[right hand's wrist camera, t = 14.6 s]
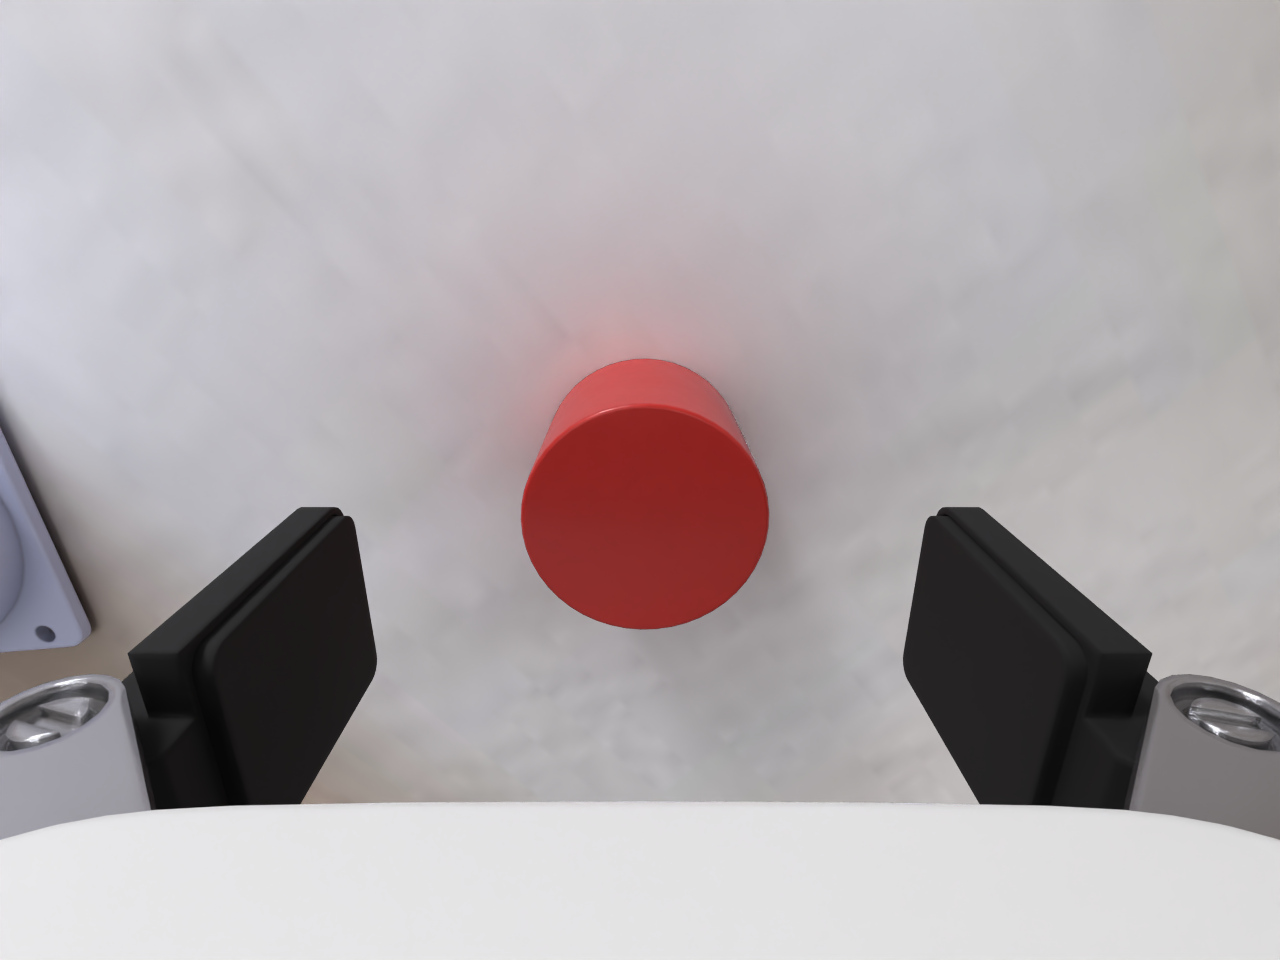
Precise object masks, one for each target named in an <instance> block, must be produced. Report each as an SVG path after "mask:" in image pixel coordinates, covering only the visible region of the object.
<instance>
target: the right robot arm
mask: <svg viewBox="0 0 1280 960" xmlns="http://www.w3.org/2000/svg"><path fill="white" fill-rule="evenodd" d="M128 656H129V659H130V662H131V665H132V668H133V672H132V673H131V674H130V675H129V676H128V677H127V678H125V679H124V680H123V681H122V682H121V681H120V680H119V679H117V678H114V677H111V676H109V675H96V674H88V675H80V676H72V677H67V678H63V679H59V680H55V681H51V682H48V683H44V684H42V685H39V686H36V687H34V688H31V689H29V690H26V691H23V692H21V693H19V694H17V695H15V696H13V697H11V698H9V699H7V700H5V701H3V702H1V703H0V960H1280V703H1279V702H1277V701H1275V700H1273V699H1271V698H1269V697H1267V696H1265V695H1263V694H1261V693H1259V692H1257V691H1254V690H1251V689H1249V688H1246V687H1244V686H1241V685H1238V684H1236V683H1232V682H1229V681H1225V680H1221V679H1217V678H1213V677H1208V676H1200V675H1192V674H1184V675H1171V676H1169V677H1166V678H1163V679H1161V680H1160V681H1159V682H1158V681H1157V680H1156V679H1155V678H1153V677H1152V676H1151V675H1150V674H1149V673H1148V672H1147V668H1148V665H1149V662H1150V659H1151V656H1152V653H1151V652H1150V651H1149V650H1148V649H1147V648H1145V647H1144V646H1143V645H1142V644H1141V643H1139V642H1138V641H1137V640H1136V639H1135V638H1134V637H1132V636H1131V635H1130V634H1129V633H1128V632H1127V631H1125V630H1124V629H1123V628H1122V627H1121V626H1119V625H1118V624H1117V623H1116V622H1115V621H1114V620H1112V619H1111V618H1110V617H1109V616H1108V615H1107V614H1105V613H1104V612H1103V611H1102V610H1101V609H1099V608H1098V607H1097V606H1096V605H1095V604H1094V603H1092V602H1091V601H1090V600H1089V599H1088V598H1087V597H1085V596H1084V595H1083V594H1082V593H1081V592H1079V591H1078V590H1077V589H1076V588H1075V587H1074V586H1072V585H1071V584H1070V583H1069V582H1068V581H1067V580H1065V579H1064V578H1063V577H1062V576H1061V575H1059V574H1058V573H1057V572H1056V571H1055V570H1054V569H1052V568H1051V567H1050V566H1049V565H1048V564H1047V563H1045V562H1044V561H1043V560H1042V559H1041V558H1040V557H1038V556H1037V555H1036V554H1035V553H1034V552H1032V551H1031V550H1030V549H1029V548H1028V547H1027V546H1025V545H1024V544H1023V543H1022V542H1021V541H1020V540H1018V539H1017V538H1016V537H1015V536H1014V535H1012V534H1011V533H1010V532H1009V531H1008V530H1007V529H1005V528H1004V527H1003V526H1002V525H1001V524H1000V523H998V522H997V521H996V520H995V519H994V518H992V517H991V516H990V515H989V514H988V513H987V512H985V511H984V510H983V509H981V508H979V507H944V508H941V509H940V510H939V512H938V513H937V515H936V516H930V517H929V518H928V519H927V521H926V524H925V529H924V535H923V541H922V547H921V553H920V559H919V565H918V570H917V576H916V582H915V588H914V594H913V600H912V606H911V612H910V618H909V624H908V630H907V636H906V642H905V648H904V654H903V666H904V671H905V675H906V677H907V679H908V681H909V683H910V685H911V686H912V688H913V690H914V692H915V693H916V695H917V697H918V698H919V700H920V702H921V704H922V705H923V707H924V709H925V711H926V712H927V714H928V716H929V717H930V719H931V721H932V723H933V724H934V726H935V728H936V730H937V731H938V733H939V735H940V736H941V738H942V740H943V742H944V743H945V745H946V747H947V749H948V750H949V752H950V754H951V755H952V757H953V759H954V761H955V762H956V764H957V766H958V768H959V769H960V771H961V773H962V774H963V776H964V778H965V780H966V781H967V783H968V785H969V786H970V788H971V790H972V792H973V793H974V795H975V797H976V799H977V800H978V802H979V804H929V803H875V802H669V801H612V802H405V803H351V804H301V802H302V800H303V799H304V797H305V795H306V793H307V792H308V790H309V788H310V786H311V785H312V783H313V781H314V780H315V778H316V776H317V774H318V773H319V771H320V769H321V768H322V766H323V764H324V762H325V761H326V759H327V757H328V755H329V754H330V752H331V750H332V749H333V747H334V745H335V743H336V742H337V740H338V738H339V736H340V735H341V733H342V731H343V730H344V728H345V726H346V724H347V723H348V721H349V719H350V717H351V716H352V714H353V712H354V711H355V709H356V707H357V705H358V704H359V702H360V700H361V698H362V697H363V695H364V693H365V692H366V690H367V688H368V686H369V685H370V683H371V681H372V679H373V677H374V675H375V671H376V666H377V654H376V648H375V642H374V636H373V630H372V624H371V618H370V612H369V606H368V600H367V594H366V588H365V582H364V576H363V570H362V565H361V559H360V553H359V547H358V541H357V535H356V529H355V524H354V521H353V519H352V518H351V517H350V516H344V515H343V513H342V512H341V510H340V509H339V508H336V507H301V508H299V509H297V510H296V511H295V512H293V513H292V514H291V515H290V516H289V517H288V518H286V519H285V520H284V521H283V522H282V523H280V524H279V525H278V526H277V527H276V528H275V529H273V530H272V531H271V532H270V533H269V534H268V535H266V536H265V537H264V538H263V539H262V540H260V541H259V542H258V543H257V544H256V545H255V546H253V547H252V548H251V549H250V550H249V551H248V552H246V553H245V554H244V555H243V556H242V557H240V558H239V559H238V560H237V561H236V562H235V563H233V564H232V565H231V566H230V567H229V568H228V569H226V570H225V571H224V572H223V573H222V574H221V575H219V576H218V577H217V578H216V579H215V580H213V581H212V582H211V583H210V584H209V585H208V586H206V587H205V588H204V589H203V590H202V591H201V592H199V593H198V594H197V595H196V596H195V597H193V598H192V599H191V600H190V601H189V602H188V603H186V604H185V605H184V606H183V607H182V608H181V609H179V610H178V611H177V612H176V613H175V614H173V615H172V616H171V617H170V618H169V619H168V620H166V621H165V622H164V623H163V624H162V625H161V626H159V627H158V628H157V629H156V630H155V631H153V632H152V633H151V634H150V635H149V636H148V637H146V638H145V639H144V640H143V641H142V642H141V643H139V644H138V645H137V646H136V647H135V648H133V649H132V650H131V651H130V652H129V653H128Z"/></svg>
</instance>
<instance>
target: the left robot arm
mask: <svg viewBox="0 0 1280 960" xmlns="http://www.w3.org/2000/svg"><path fill="white" fill-rule="evenodd" d="M49 628H50V629H52V630H53V631H51V630H50V629H49ZM90 633H91V626H90V623H89V621H88V618H87V616H86V614H85V612H84V610H83V607H82V605H81V603H80V601H79V599H78V596H77V594H76V592H75V590H74V588H73V585H72V583H71V581H70V579H69V577H68V575H67V572H66V570H65V568H64V566H63V564H62V561H61V559H60V557H59V555H58V553H57V550H56V548H55V546H54V544H53V542H52V540H51V537H50V535H49V533H48V531H47V529H46V526H45V524H44V522H43V520H42V518H41V515H40V513H39V511H38V509H37V507H36V504H35V502H34V500H33V498H32V496H31V494H30V491H29V489H28V487H27V485H26V483H25V480H24V478H23V476H22V474H21V472H20V469H19V467H18V465H17V463H16V461H15V459H14V456H13V454H12V452H11V450H10V448H9V445H8V443H7V441H6V439H5V437H4V434H3V432H2V430H1V428H0V653H1V652H13V651H26V650H38V649H50V648H63V647H73V646H76V645H78V644H80V643H81V642H82V641H84V640H85V639H86V638H87V637H88V636H89V635H90Z"/></svg>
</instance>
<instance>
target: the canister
mask: <svg viewBox="0 0 1280 960" xmlns="http://www.w3.org/2000/svg"><path fill="white" fill-rule="evenodd" d="M521 525H522V534H523V538H524V542H525V546H526V550H527V552H528V555H529V557H530V559H531V562H532V564H533V565H534V567H535V569H536V571H537V572H538V574H539V576H540V577H541V578H542V580H543V581H544V582H545V583H546V585H547V586H548V587H549V588H550V589H551V590H552V591H553V592H554V593H555V594H556V595H557V596H558V597H559V598H560V599H561V600H562V601H564V602H565V603H566V604H567V605H569V606H570V607H572V608H573V609H575V610H577V611H578V612H580V613H582V614H583V615H585V616H588V617H590V618H592V619H594V620H596V621H599V622H603V623H606V624H609V625H613V626H618V627H623V628H630V629H660V628H667V627H673V626H676V625H680V624H684V623H687V622H690V621H692V620H695V619H698V618H700V617H702V616H704V615H706V614H708V613H710V612H712V611H713V610H715V609H716V608H718V607H719V606H721V605H722V604H724V603H725V602H726V601H727V600H728V599H730V598H731V597H732V596H733V595H734V594H735V593H736V592H737V591H738V590H739V589H740V588H741V587H742V586H743V584H744V583H745V582H746V581H747V579H748V578H749V576H750V575H751V573H752V572H753V570H754V569H755V567H756V565H757V563H758V561H759V559H760V557H761V555H762V552H763V549H764V546H765V543H766V538H767V533H768V527H769V506H768V497H767V493H766V489H765V485H764V482H763V479H762V477H761V475H760V472H759V470H758V468H757V465H756V463H755V461H754V459H753V457H752V455H751V453H750V450H749V448H748V446H747V444H746V442H745V440H744V438H743V435H742V433H741V431H740V429H739V427H738V425H737V423H736V420H735V418H734V416H733V414H732V412H731V410H730V408H729V407H728V405H727V403H726V401H725V400H724V399H723V397H722V396H721V395H720V394H719V392H718V391H717V390H716V389H715V388H714V387H713V386H712V385H711V384H710V383H709V382H708V381H706V380H705V379H703V378H702V377H701V376H699V375H698V374H696V373H694V372H693V371H691V370H689V369H687V368H685V367H682V366H680V365H677V364H674V363H670V362H666V361H662V360H653V359H633V360H627V361H621V362H618V363H614V364H611V365H608V366H606V367H604V368H601V369H599V370H597V371H595V372H594V373H592V374H590V375H589V376H587V377H586V378H584V379H583V380H582V381H581V382H580V383H578V384H577V385H576V386H575V387H574V388H573V389H572V390H571V391H570V392H569V394H568V395H567V396H566V397H565V399H564V400H563V402H562V403H561V405H560V406H559V408H558V410H557V412H556V414H555V416H554V418H553V421H552V423H551V425H550V428H549V430H548V432H547V435H546V437H545V439H544V442H543V444H542V447H541V449H540V451H539V454H538V456H537V458H536V461H535V463H534V465H533V468H532V470H531V472H530V475H529V477H528V480H527V483H526V486H525V489H524V494H523V499H522V505H521Z"/></svg>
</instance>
